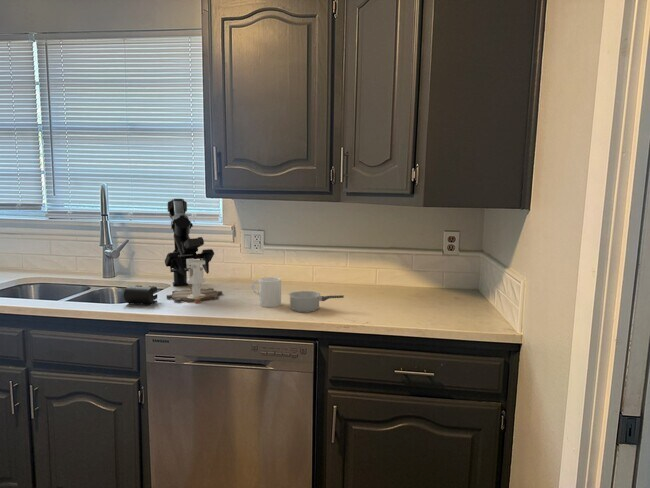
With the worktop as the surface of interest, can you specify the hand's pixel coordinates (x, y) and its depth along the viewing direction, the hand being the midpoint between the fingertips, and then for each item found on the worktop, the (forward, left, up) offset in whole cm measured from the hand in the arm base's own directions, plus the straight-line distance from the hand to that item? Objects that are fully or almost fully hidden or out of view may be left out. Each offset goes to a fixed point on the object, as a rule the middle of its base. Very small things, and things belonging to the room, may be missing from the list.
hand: (197, 274), depth 170 cm
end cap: (-2, -20, -11) cm, 23 cm away
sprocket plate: (-7, 0, -10) cm, 12 cm away
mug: (+14, +24, -11) cm, 29 cm away
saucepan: (+27, +39, -11) cm, 49 cm away
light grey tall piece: (-1, 0, -9) cm, 9 cm away
